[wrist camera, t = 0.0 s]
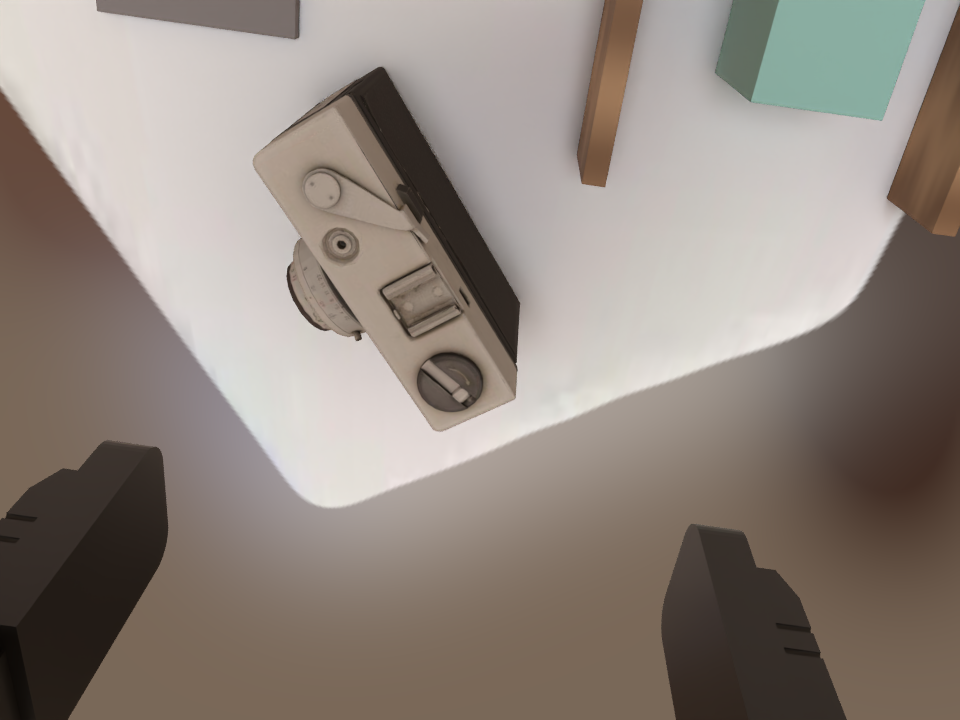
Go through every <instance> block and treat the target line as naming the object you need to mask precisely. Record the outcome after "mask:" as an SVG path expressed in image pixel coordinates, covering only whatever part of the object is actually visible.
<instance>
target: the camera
mask: <svg viewBox="0 0 960 720" xmlns="http://www.w3.org/2000/svg"><path fill="white" fill-rule="evenodd" d="M253 166H254V168H255V170H256V172H257V173H258V175H259V176H260V178H261V179H262V180H263V182H264V183H265V185H266V186H267V188H268V189H269V191H270V192H271V194H272V195H273V197H274V198H275V199H276V201H277V202H278V204H279V205H280V207H281V208H282V210H283V211H284V213H285V214H286V216H287V217H288V218H289V220H290V221H291V223H292V224H293V226H294V227H295V229H296V230H297V232H298V233H299V234H300V236H301V237H302V238H301V239H299V240H298V241H297V243H296V245H295V248H294V253H293V260H294V261H293V262H292V263H291V264H290V265H289V267H288V269H287V282H288V288H289V290H290V293H291V296H292V298H293V301H294V302H295V304H296V306H297V307H298V309H299V311H300V312H301V314H302V315H303V316H304V317H305V318H306V319H307V320H308V322H309V323H311V324H312V325H313V326H314V327H316V328H318V329H320V330H323V331H327V330H333V331H335V332H336V333H337V334H340V335H342V336H347V337H350V336H355V340H356V341H359V340H361V339H362V337H361V333H364V332H367V334H368V335H369V337H370V338H371V340H372V341H373V343H374V344H375V345H376V347H377V348H378V350H379V351H380V353H381V354H382V356H383V357H384V359H385V360H386V361H387V363H388V364H389V366H390V367H391V369H392V370H393V372H394V373H395V375H396V376H397V378H398V379H399V380H400V382H401V383H402V385H403V386H404V388H405V389H406V391H407V392H408V394H409V395H410V397H411V398H412V399H413V401H414V402H415V404H416V405H417V407H418V408H419V410H420V411H421V413H422V414H423V415H424V417H425V418H426V420H427V421H428V423H429V424H430V426H431V427H432V429H433V430H435V431H444V430H447V429H449V428H451V427H453V426H456V425H458V424H460V423H462V422H465V421H467V420H469V419H471V418H474V417H476V416H478V415H481V414H483V413H485V412H487V411H490V410H492V409H494V408H496V407H499V406H501V405H503V404H505V403H508V402H510V401H512V400H514V399H515V398H516V382H517V366H516V364H515V363H517V345H518V328H519V309H520V303H519V301H518V299H517V297H516V296H515V294H514V292H513V291H512V289H511V287H510V285H509V284H508V282H507V280H506V279H505V277H504V275H503V273H502V272H501V270H500V268H499V266H498V265H497V263H496V261H495V260H494V258H493V256H492V254H491V253H490V251H489V249H488V247H487V246H486V244H485V242H484V241H483V239H482V237H481V235H480V234H479V232H478V230H477V228H476V227H475V225H474V223H473V222H472V220H471V218H470V216H469V215H468V213H467V211H466V209H465V208H464V206H463V204H462V203H461V201H460V199H459V197H458V196H457V194H456V192H455V190H454V189H453V187H452V185H451V184H450V182H449V180H448V178H447V177H446V175H445V173H444V172H443V170H442V168H441V166H440V165H439V163H438V161H437V159H436V158H435V156H434V154H433V153H432V151H431V149H430V147H429V146H428V144H427V142H426V140H425V139H424V137H423V135H422V134H421V132H420V130H419V128H418V127H417V125H416V123H415V121H414V120H413V118H412V116H411V115H410V113H409V111H408V109H407V108H406V106H405V104H404V103H403V101H402V99H401V97H400V96H399V94H398V92H397V90H396V89H395V87H394V85H393V84H392V82H391V80H390V78H389V77H388V75H387V73H386V71H385V70H384V68H382V67H378V68H377V69H375V70H373V71H371V72H370V73H368V74H366V75H365V76H363V77H361V78H360V79H358V80H355V81H354V82H352V83H350V84H349V85H347V86H345V87H344V88H342V89H341V90H339V91H337V92H336V93H334V94H332V95H331V96H329V97H327V98H326V99H325V100H324V101H322V102H321V103H319V104H317V105H316V106H315V107H314V108H312V109H311V110H310V111H309V112H307V113H306V114H305V115H304V116H303V117H301V118H300V119H299V120H297V121H296V122H295V123H294V124H292V125H291V126H290V127H289V128H288V129H286V130H285V131H284V132H282V133H281V134H280V135H278V136H277V137H276V138H275V139H273V140H272V141H271V142H270V143H269V144H268V145H267V146H265V147H264V148H263V149H262V150H260V151H259V152H258V153H257V154H256V155H255V156H254V159H253Z"/></svg>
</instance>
